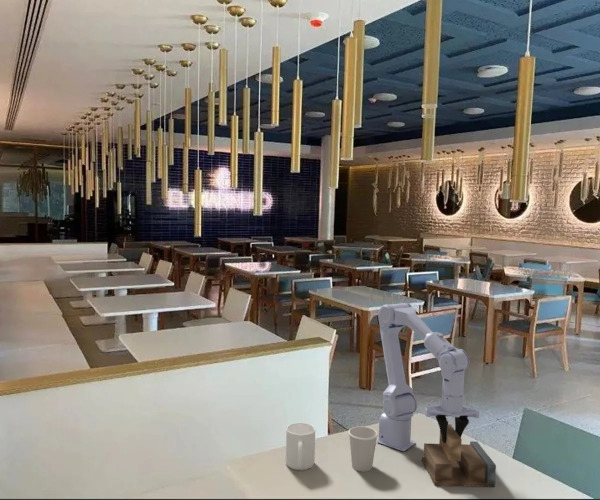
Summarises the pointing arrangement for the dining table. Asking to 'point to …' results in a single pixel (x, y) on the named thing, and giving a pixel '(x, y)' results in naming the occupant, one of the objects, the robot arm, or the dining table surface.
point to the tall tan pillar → (451, 444)
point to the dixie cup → (362, 447)
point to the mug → (300, 446)
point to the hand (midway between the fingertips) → (450, 441)
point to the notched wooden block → (460, 466)
